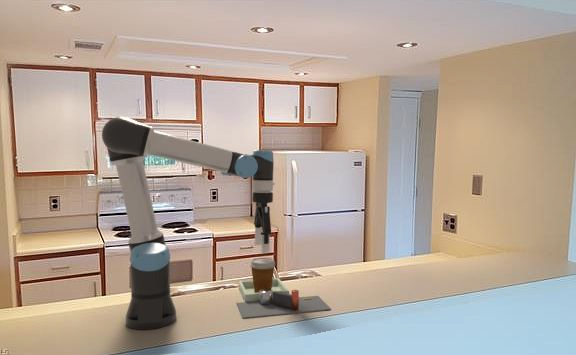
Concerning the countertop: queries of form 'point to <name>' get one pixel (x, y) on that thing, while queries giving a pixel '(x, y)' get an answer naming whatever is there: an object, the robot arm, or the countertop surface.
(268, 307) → the mat
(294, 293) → the crank
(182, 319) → the countertop surface
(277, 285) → the tray
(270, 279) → the disposable coffee cup
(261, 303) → the hub
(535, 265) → the countertop surface
